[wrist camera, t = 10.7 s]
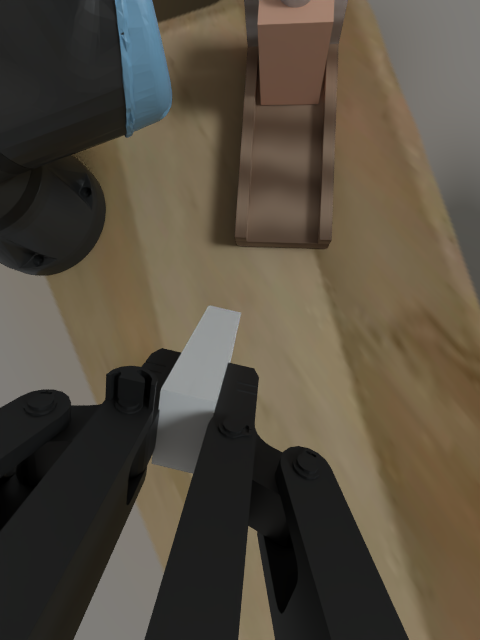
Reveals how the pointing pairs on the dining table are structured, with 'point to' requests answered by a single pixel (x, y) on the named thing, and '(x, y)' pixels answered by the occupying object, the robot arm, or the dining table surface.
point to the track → (287, 156)
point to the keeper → (293, 49)
